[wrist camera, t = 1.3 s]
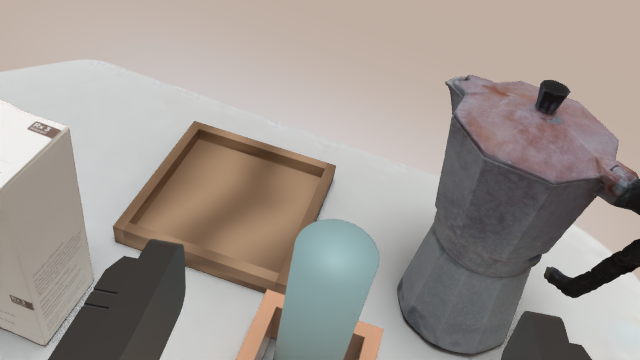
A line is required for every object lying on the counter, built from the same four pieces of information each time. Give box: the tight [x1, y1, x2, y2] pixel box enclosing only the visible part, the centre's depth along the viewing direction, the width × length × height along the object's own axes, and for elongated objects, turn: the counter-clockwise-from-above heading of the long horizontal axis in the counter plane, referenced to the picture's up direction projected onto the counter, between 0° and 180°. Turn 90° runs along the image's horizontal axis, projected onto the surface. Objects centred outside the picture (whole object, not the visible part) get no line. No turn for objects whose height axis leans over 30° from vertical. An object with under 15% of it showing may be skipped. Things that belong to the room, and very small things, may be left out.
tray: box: [113, 121, 336, 295], centre depth 46 cm, size 14×14×2 cm
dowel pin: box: [273, 219, 379, 360], centre depth 31 cm, size 4×4×15 cm
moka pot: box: [398, 75, 640, 354], centre depth 36 cm, size 10×15×20 cm, turn 44°
